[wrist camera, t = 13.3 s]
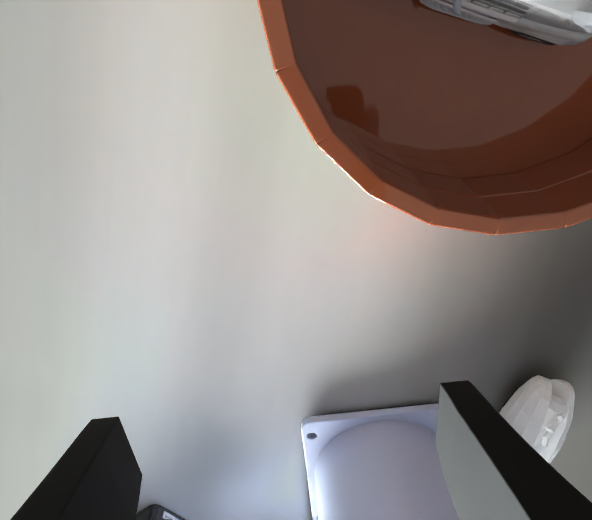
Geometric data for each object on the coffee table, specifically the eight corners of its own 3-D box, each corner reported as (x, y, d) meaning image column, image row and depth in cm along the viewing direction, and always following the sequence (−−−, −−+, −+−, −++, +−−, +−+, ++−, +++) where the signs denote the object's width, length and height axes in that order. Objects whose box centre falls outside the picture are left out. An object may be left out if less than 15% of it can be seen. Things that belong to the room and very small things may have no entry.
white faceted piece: (454, 464, 27) (473, 513, 24) (516, 357, 23) (545, 402, 20) (505, 469, 27) (528, 517, 25) (574, 365, 23) (609, 410, 21)
